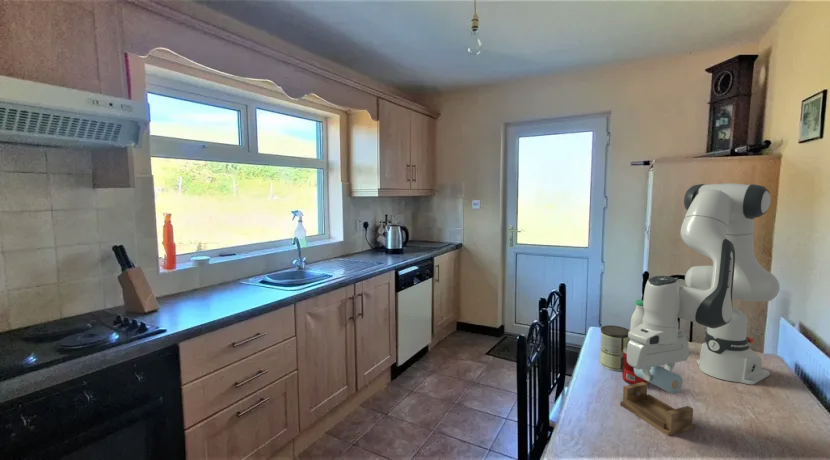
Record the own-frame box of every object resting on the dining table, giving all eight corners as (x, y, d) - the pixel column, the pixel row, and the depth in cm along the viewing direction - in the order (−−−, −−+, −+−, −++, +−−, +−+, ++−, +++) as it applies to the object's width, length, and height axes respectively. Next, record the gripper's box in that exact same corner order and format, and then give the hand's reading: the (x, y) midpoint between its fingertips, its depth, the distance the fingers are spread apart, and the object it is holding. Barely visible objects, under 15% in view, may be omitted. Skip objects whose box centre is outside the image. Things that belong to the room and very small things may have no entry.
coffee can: (601, 357, 153) (602, 323, 152) (630, 363, 147) (632, 328, 146) (597, 367, 144) (599, 331, 143) (628, 374, 139) (630, 336, 137)
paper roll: (647, 374, 118) (647, 357, 117) (682, 391, 107) (682, 372, 107) (633, 377, 116) (633, 360, 116) (667, 396, 106) (667, 376, 105)
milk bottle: (633, 349, 159) (635, 303, 157) (626, 342, 167) (628, 298, 165) (653, 350, 158) (656, 304, 156) (645, 343, 166) (647, 299, 164)
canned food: (652, 387, 129) (653, 356, 128) (626, 385, 131) (627, 354, 130) (643, 376, 136) (644, 347, 135) (619, 375, 138) (620, 346, 137)
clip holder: (644, 399, 122) (645, 381, 121) (694, 428, 107) (695, 408, 106) (620, 404, 119) (620, 386, 118) (668, 435, 104) (669, 414, 103)
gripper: (675, 325, 116) (673, 368, 118) (623, 332, 110) (621, 378, 111) (696, 331, 110) (693, 377, 112) (642, 340, 104) (640, 388, 105)
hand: (657, 378), depth 111 cm, fingers closed on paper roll, 6 cm apart
